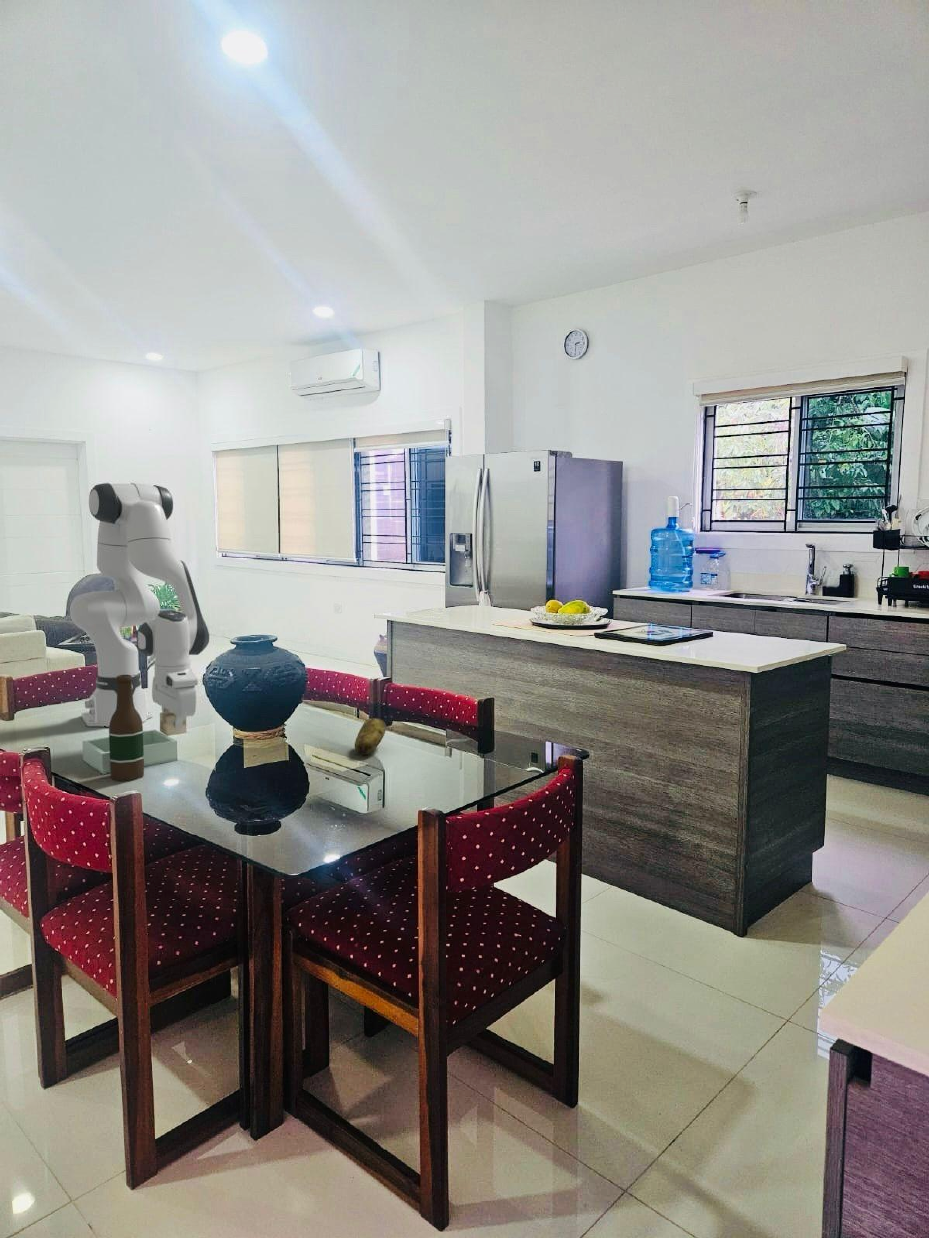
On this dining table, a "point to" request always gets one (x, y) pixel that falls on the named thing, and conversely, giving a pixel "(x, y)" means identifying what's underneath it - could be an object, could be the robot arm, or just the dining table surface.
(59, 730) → the dining table surface
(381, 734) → the potato
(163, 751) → the tote
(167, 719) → the beech cube
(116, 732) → the beer bottle
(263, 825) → the dining table surface
